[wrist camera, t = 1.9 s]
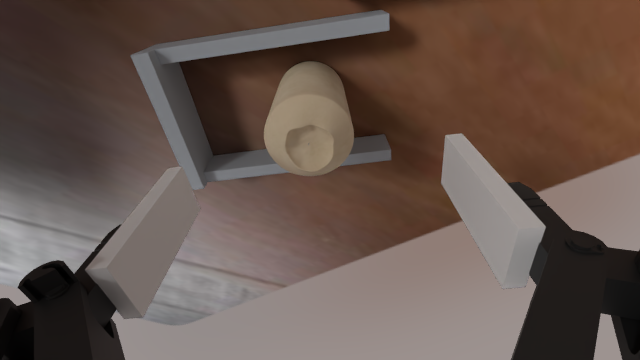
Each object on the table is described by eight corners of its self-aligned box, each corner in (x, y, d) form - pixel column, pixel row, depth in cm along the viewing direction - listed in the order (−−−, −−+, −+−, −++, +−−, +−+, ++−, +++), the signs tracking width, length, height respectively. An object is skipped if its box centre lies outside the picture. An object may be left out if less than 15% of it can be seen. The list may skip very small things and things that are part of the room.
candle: (265, 85, 26) (239, 137, 17) (320, 45, 24) (321, 82, 16) (303, 135, 28) (297, 203, 20) (356, 103, 27) (373, 161, 18)
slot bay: (204, 166, 30) (190, 190, 27) (156, 44, 24) (130, 55, 21) (384, 143, 29) (393, 166, 25) (381, 9, 23) (392, 15, 19)
